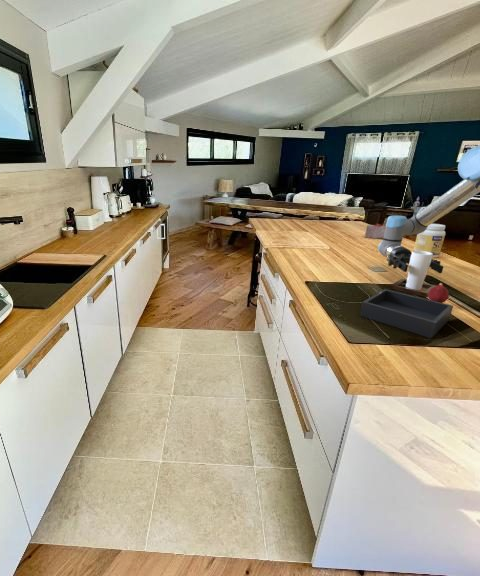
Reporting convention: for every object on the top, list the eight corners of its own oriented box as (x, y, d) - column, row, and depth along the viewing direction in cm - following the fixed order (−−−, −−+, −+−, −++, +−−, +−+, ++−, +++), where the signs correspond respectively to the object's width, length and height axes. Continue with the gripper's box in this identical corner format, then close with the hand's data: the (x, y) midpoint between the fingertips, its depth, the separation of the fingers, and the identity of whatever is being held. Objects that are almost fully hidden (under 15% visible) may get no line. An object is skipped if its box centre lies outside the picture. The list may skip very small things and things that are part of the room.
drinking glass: (402, 285, 130) (410, 249, 125) (421, 287, 128) (431, 251, 122) (404, 290, 125) (413, 253, 119) (424, 292, 122) (434, 255, 117)
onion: (449, 308, 108) (455, 286, 106) (430, 307, 109) (436, 285, 107) (439, 301, 114) (446, 281, 111) (422, 300, 115) (428, 280, 112)
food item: (386, 237, 218) (389, 223, 215) (386, 239, 212) (389, 225, 208) (364, 235, 225) (367, 222, 221) (364, 237, 218) (366, 223, 215)
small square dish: (436, 289, 125) (437, 285, 125) (426, 297, 118) (427, 293, 117) (401, 281, 134) (402, 278, 134) (390, 288, 127) (390, 284, 126)
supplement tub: (430, 259, 165) (438, 227, 159) (407, 254, 176) (414, 224, 170) (444, 256, 170) (453, 225, 164) (421, 251, 181) (428, 222, 175)
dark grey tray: (449, 320, 100) (453, 305, 98) (431, 338, 90) (436, 323, 88) (381, 301, 115) (384, 288, 113) (359, 315, 104) (362, 301, 102)
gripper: (426, 263, 139) (455, 279, 119) (368, 261, 143) (387, 277, 123) (430, 247, 136) (461, 260, 116) (371, 245, 140) (391, 258, 120)
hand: (423, 269), depth 119 cm, fingers open, 11 cm apart
